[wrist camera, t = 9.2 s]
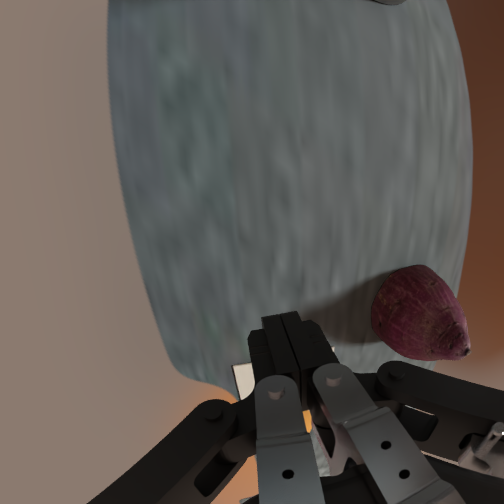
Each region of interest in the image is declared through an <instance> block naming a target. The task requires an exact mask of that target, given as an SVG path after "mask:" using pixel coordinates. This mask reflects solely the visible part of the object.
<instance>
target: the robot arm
mask: <svg viewBox="0 0 504 504" xmlns="http://www.w3.org/2000/svg"><path fill="white" fill-rule="evenodd" d="M375 1H378V2H381V3H384V4H389V5H398V4H401V3H403V2H404V1H406V0H375ZM261 319H262V328H263V329H259V330H252V331H251V332H250V334H249V336H248V339H247V340H248V346H249V352H250V357H251V363H252V369H253V375H254V381H255V385H254V389H253V391H252V392H251V393H250V395H248V396H247V397H246V398H244V399H243V400H241V401H238V402H236V403H233V404H230V403H229V402H227V401H224V400H219V399H213V400H208V401H205V402H203V403H201V404H199V405H198V406H197V407H196V408H195V409H194V410H193V411H192V412H191V413H190V414H189V415H188V416H187V417H186V418H185V419H184V420H183V421H182V422H180V423H179V424H178V425H177V426H176V427H175V428H174V429H173V430H172V431H171V432H170V433H169V434H168V435H167V436H166V437H165V438H164V439H162V440H161V441H160V442H159V443H158V444H157V445H156V446H155V447H154V448H153V449H152V450H150V451H149V452H148V453H147V454H146V455H145V456H144V457H143V458H142V459H140V460H139V461H138V462H137V463H136V464H135V465H134V466H132V467H131V468H130V469H129V470H128V471H126V472H125V473H124V474H123V475H122V476H121V477H119V478H118V479H117V480H116V481H115V482H113V483H112V484H111V485H110V486H109V487H107V488H106V489H105V490H104V491H102V492H101V493H100V494H99V495H97V496H96V497H95V498H93V499H92V500H91V501H90V502H88V503H87V504H210V503H211V502H212V501H213V500H214V499H215V498H216V497H217V495H218V494H219V493H220V492H221V491H222V490H223V489H224V487H225V486H226V485H227V484H228V483H229V481H230V480H231V479H232V478H233V477H234V475H235V474H236V473H237V472H238V471H239V469H240V468H241V467H242V466H243V464H244V463H245V462H246V460H247V458H248V457H250V456H253V455H255V454H256V456H257V471H258V487H259V488H258V489H259V494H258V495H256V496H254V497H252V498H250V499H249V500H247V501H245V502H244V503H243V504H504V391H502V390H498V389H494V388H490V387H486V386H483V385H479V384H475V383H471V382H468V381H465V380H461V379H457V378H454V377H451V376H447V375H444V374H441V373H437V372H434V371H431V370H427V369H424V368H421V367H418V366H415V365H412V364H409V363H406V362H402V361H389V362H386V363H384V364H382V365H381V366H380V367H379V369H378V371H377V373H364V374H359V373H354V372H352V371H351V369H350V368H348V367H347V366H345V365H342V364H340V362H339V361H338V359H337V357H336V355H335V353H334V352H333V350H332V348H331V346H330V344H329V342H328V341H327V339H326V337H325V335H324V334H323V332H322V330H321V328H320V326H319V325H318V324H316V323H315V322H313V321H312V320H307V321H301V318H300V316H299V314H298V312H297V311H293V312H287V313H282V314H277V315H271V316H265V317H261ZM405 405H408V406H410V407H413V408H416V409H419V410H422V411H425V412H428V413H431V414H434V415H429V414H426V413H423V412H421V411H418V410H415V409H412V408H409V407H406V406H405ZM307 410H309V411H310V414H311V426H312V428H313V431H314V433H315V435H316V437H317V439H318V442H319V444H320V446H321V448H322V450H323V453H324V455H325V457H326V459H327V462H328V464H329V470H330V475H331V476H325V477H320V476H319V472H318V467H317V463H316V458H315V453H314V449H313V444H312V440H311V436H310V433H309V432H307V429H306V425H305V420H304V416H303V411H307ZM420 450H422V451H424V452H427V453H430V454H433V455H436V456H440V457H443V458H446V459H449V460H453V461H456V462H458V464H459V466H457V465H454V464H451V463H448V462H445V461H442V460H440V459H437V458H434V457H431V456H428V455H424V454H423V453H422V452H421V451H420Z"/></svg>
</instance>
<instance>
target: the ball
mask: <svg viewBox="0 0 504 504" xmlns="http://www.w3.org/2000/svg"><path fill="white" fill-rule="evenodd" d="M303 416H304V420H305V425H306V429H307V432H310V431H311V429H312V426H311V414H310V411H309V410H307V411H303Z"/></svg>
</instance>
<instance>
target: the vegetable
mask: <svg viewBox="0 0 504 504" xmlns="http://www.w3.org/2000/svg"><path fill="white" fill-rule="evenodd" d="M371 319H372V328H373V330H374V331H375V333H376V334H377V335H378V336H379V337H380V339H381V340H382V341H383V342H384V343H385V344H386V345H388V346H389V347H390V348H392V349H393V350H394V351H395V352H397V353H399V354H400V355H402V356H404V357H407V358H410V359H415V360H423V361H435V360H442V359H444V360H460V359H463V358H464V357H465V356H467V355H468V354H470V353H471V350H470V340H469V336H468V330H467V322H466V318H465V315H464V312H463V310H462V308H461V306H460V304H459V302H458V301H457V299H456V298H455V296H454V294H453V292H452V290H451V289H450V288H449V286H448V285H447V284H446V283H445V281H444V280H443V279H442V278H440V277H439V276H438V275H437V274H436V273H435V272H434V271H433V270H431V269H430V268H429V267H427V266H425V265H414V266H410V267H406V268H402V269H399V270H398V271H396V272H395V273H393V274H391V275H390V276H389V277H388V278H387V279H386V281H385V282H384V283H383V285H382V287H381V289H380V290H379V292H378V294H377V296H376V297H375V299H374V302H373V304H372V311H371Z"/></svg>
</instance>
